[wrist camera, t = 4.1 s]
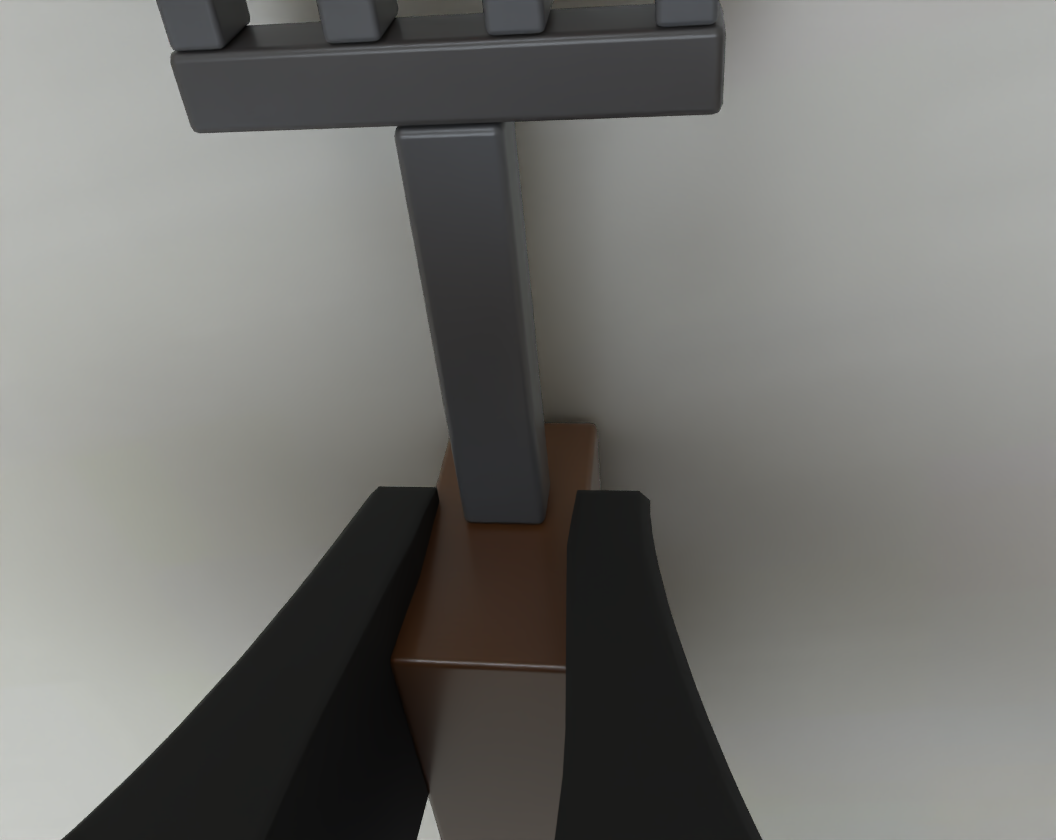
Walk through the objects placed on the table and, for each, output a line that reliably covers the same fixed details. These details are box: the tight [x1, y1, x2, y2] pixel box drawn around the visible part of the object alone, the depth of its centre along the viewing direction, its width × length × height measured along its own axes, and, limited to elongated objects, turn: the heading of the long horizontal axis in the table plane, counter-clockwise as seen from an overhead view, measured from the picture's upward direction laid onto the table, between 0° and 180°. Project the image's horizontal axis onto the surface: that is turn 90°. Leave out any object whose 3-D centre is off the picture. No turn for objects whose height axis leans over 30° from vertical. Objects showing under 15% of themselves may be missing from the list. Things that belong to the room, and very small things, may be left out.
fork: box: [156, 0, 726, 840], centre depth 9 cm, size 14×4×3 cm, turn 5°
